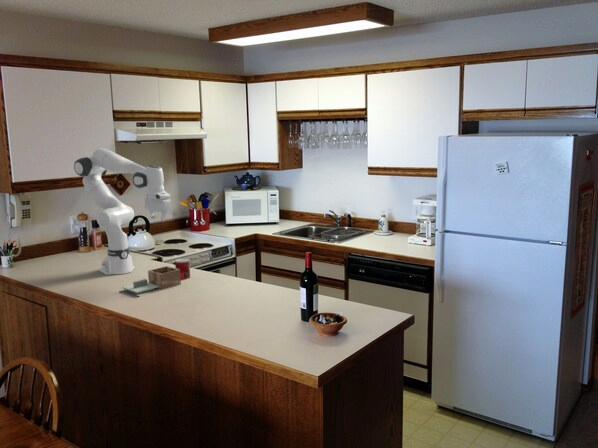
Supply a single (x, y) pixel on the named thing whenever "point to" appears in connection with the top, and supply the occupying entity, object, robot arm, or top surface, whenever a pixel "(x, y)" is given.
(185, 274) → the canned food
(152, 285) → the lid
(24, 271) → the top surface
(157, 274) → the crate
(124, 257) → the robot arm
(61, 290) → the top surface
